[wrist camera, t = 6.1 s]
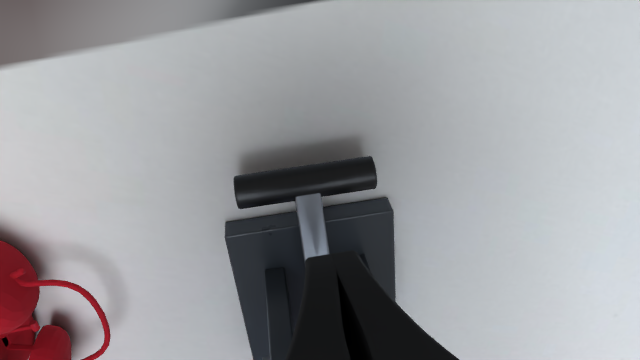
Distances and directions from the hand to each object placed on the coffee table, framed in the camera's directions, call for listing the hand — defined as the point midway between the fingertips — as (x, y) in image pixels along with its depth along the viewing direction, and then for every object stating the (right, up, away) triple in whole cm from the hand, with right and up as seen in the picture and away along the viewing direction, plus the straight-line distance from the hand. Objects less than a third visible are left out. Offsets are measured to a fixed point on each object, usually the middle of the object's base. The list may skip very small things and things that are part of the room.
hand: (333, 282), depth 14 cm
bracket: (-1, -2, +14) cm, 14 cm away
